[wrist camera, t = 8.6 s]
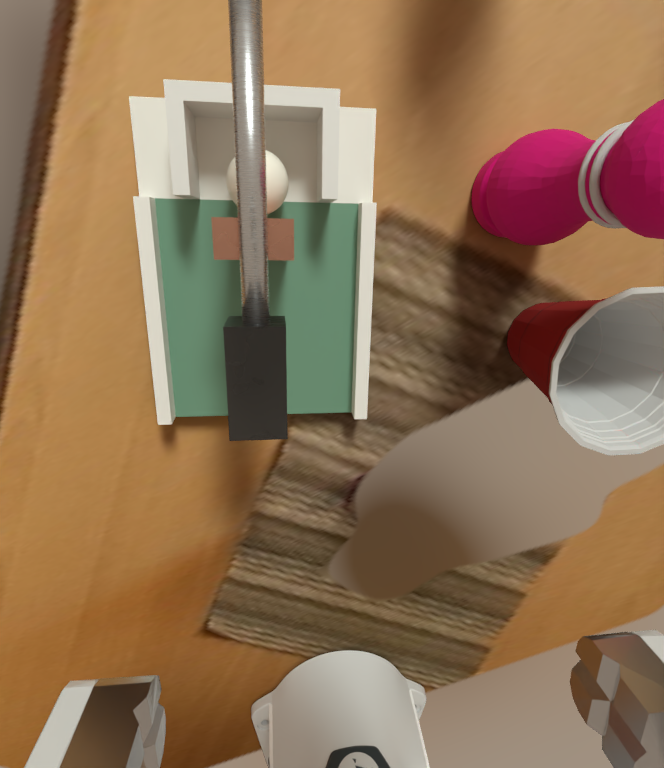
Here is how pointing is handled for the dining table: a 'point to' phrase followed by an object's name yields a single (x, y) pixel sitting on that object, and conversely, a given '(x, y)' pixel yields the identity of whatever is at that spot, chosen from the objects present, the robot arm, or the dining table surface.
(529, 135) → the pepper mill
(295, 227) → the pitch
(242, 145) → the kicker rod
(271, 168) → the ball
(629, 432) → the plastic cup
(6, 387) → the dining table surface
